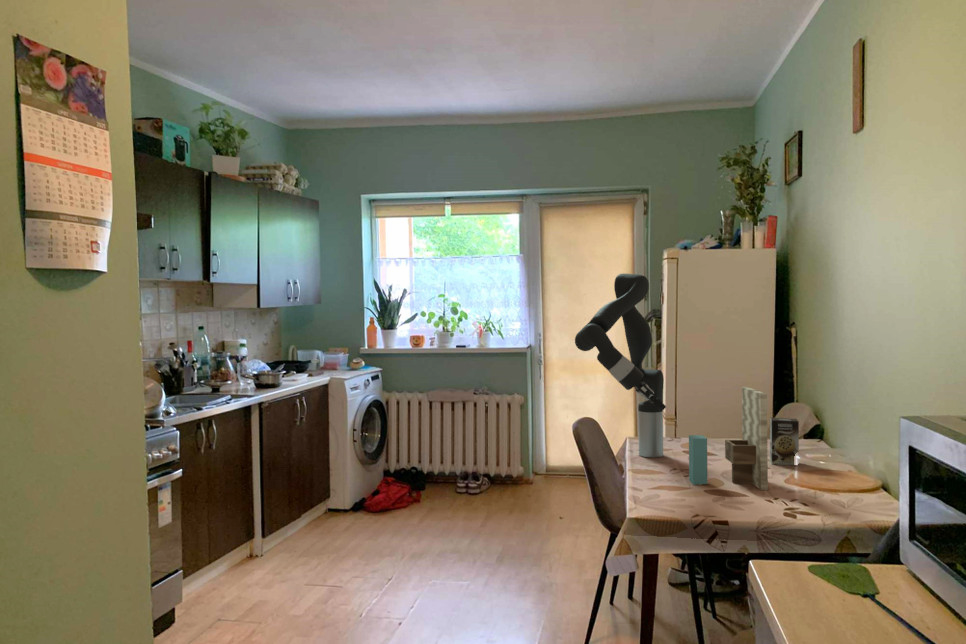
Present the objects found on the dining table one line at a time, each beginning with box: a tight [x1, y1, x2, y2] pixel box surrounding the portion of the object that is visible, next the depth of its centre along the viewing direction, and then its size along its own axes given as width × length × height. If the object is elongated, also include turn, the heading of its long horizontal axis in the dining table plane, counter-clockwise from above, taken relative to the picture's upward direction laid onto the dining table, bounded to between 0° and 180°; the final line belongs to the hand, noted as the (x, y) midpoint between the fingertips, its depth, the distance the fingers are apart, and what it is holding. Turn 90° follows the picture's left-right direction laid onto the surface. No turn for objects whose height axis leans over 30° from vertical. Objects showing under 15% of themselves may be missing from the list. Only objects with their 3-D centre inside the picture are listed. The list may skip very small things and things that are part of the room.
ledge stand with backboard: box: [724, 386, 769, 491], centre depth 217 cm, size 18×9×30 cm, turn 176°
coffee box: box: [769, 417, 800, 467], centre depth 242 cm, size 9×6×16 cm
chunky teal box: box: [688, 434, 709, 486], centre depth 218 cm, size 6×4×15 cm
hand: (661, 407), depth 219 cm, fingers open, 8 cm apart
